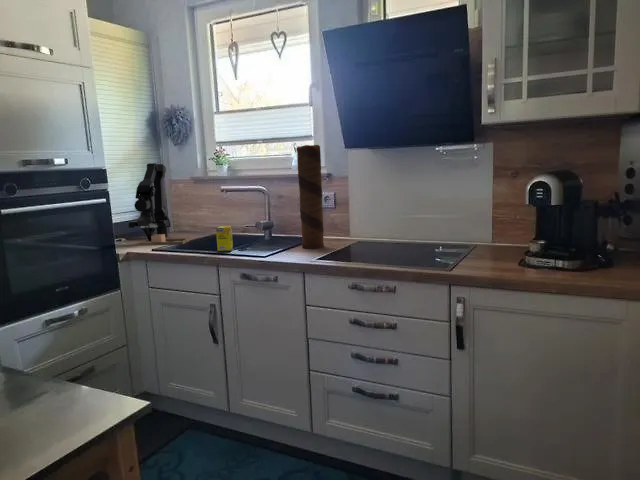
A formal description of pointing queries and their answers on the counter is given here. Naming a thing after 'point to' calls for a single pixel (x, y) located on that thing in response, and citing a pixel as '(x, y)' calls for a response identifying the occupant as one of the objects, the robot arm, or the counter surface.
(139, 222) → the robot arm
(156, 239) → the terracotta block
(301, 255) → the counter surface
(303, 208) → the wafer roll
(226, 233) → the supplement box
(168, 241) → the trap lane
